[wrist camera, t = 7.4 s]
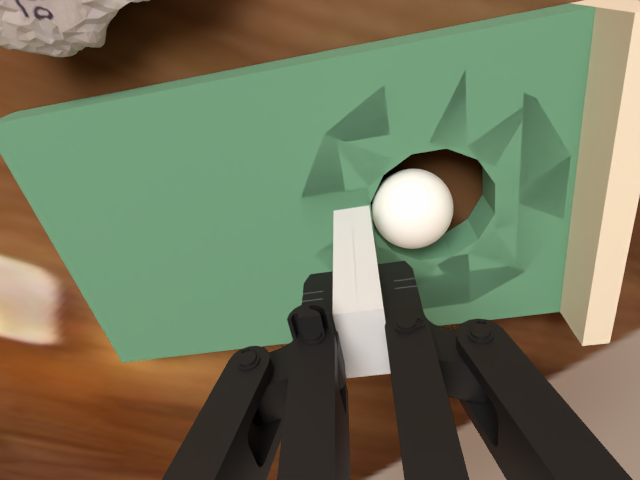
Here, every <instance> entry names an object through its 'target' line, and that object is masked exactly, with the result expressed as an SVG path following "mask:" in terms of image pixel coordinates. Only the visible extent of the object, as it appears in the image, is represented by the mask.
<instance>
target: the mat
mask: <svg viewBox="0 0 640 480" xmlns="http://www.w3.org/2000/svg"><path fill="white" fill-rule="evenodd" d="M441 149H449V150H452V151H455V152H458V153H460V154H463V155H466V156H469V157H471V158H474V159H477V160H478V161H479V163H480V164H481V165H482V196H481V198H480V199H479V201H478V203H477V204H476V206H475V208H474V209H473V211H472V212H471V214H470V216H469V217H468V219H467V220H465V221H464V222H462V223H461V224H459V225H457V226H456V227H454V228H453V229H451V230H450V231H448V232H446V233H445V234H443V235H442V236H441V237H440V238H439V239H438V240H437V241H436V242H434V243H432V244H430V245H428V246H426V247H422V248H416V249H409V248H402V247H399V246H396V245H394V244H392V243H390V242H389V241H387V240H386V239H385V238H384V237H383V236H382V235H381V234H380V232H379V231H378V229H377V228H376V226H375V223H374V220H373V216H372V211H371V204H370V203H371V201H372V199H373V197H374V195H375V192H376V190H377V188H378V186H379V184H380V182H381V179H382V177H383V175H384V174H386V173H387V172H388V171H390V170H391V169H392V168H394V167H395V166H396V165H398V164H399V163H401V162H402V161H403V160H405V159H406V158H407V157H409V156H410V155H411V154H417V153H423V152H429V151H435V150H441ZM0 154H1V155H2V157H3V159H4V161H5V162H6V164H7V166H8V168H9V169H10V171H11V173H12V174H13V176H14V178H15V180H16V181H17V183H18V185H19V186H20V188H21V190H22V192H23V193H24V195H25V197H26V198H27V200H28V202H29V204H30V205H31V207H32V209H33V210H34V212H35V214H36V216H37V217H38V219H39V221H40V222H41V224H42V226H43V228H44V229H45V231H46V233H47V235H48V236H49V238H50V240H51V241H52V243H53V245H54V247H55V248H56V250H57V252H58V253H59V255H60V257H61V259H62V260H63V262H64V264H65V265H66V267H67V269H68V271H69V272H70V274H71V276H72V277H73V279H74V281H75V283H76V284H77V286H78V288H79V289H80V291H81V293H82V295H83V296H84V298H85V300H86V302H87V303H88V305H89V307H90V308H91V310H92V312H93V314H94V315H95V317H96V319H97V320H98V322H99V324H100V326H101V327H102V329H103V331H104V332H105V334H106V336H107V338H108V339H109V341H110V343H111V344H112V346H113V348H114V350H115V351H116V353H117V355H118V356H119V358H120V360H121V362H122V363H123V362H131V361H140V360H149V359H157V358H166V357H175V356H183V355H192V354H200V353H209V352H218V351H226V350H235V349H243V348H246V347H249V346H260V347H261V346H269V345H278V344H287V343H291V342H292V341H293V338H292V335H291V331H290V328H289V325H288V321H287V318H288V316H289V314H290V313H291V312H292V311H293V310H294V309H295V308H296V307H298V306H300V305H302V296H303V286H304V282H305V281H306V279H307V278H308V277H309V275H310V274H316V273H324V272H331V271H333V218H334V211H335V210H342V209H348V208H355V207H361V206H368V205H369V208H370V215H371V222H372V229H373V235H374V242H375V249H376V256H377V263H378V264H383V263H391V262H398V261H406V262H407V263H408V264H409V265H410V266H411V267H412V268H413V272H414V276H415V280H416V284H417V288H418V292H419V295H420V299H421V303H422V307H423V311H424V314H425V316H426V318H427V319H428V320H429V321H430V322H431V323H433V324H435V325H437V326H442V325H450V324H459V323H463V322H466V321H468V320H471V319H486V320H493V319H502V318H511V317H519V316H528V315H536V314H545V313H554V312H560V313H561V314H562V316H563V317H564V319H565V320H566V322H567V323H568V325H569V326H570V328H571V330H572V331H573V333H574V334H575V336H576V337H577V339H578V340H579V342H580V343H581V345H582V346H586V345H595V344H605V343H610V339H611V334H612V329H613V324H614V319H615V314H616V309H617V304H618V299H619V294H620V289H621V284H622V279H623V275H624V270H625V265H626V260H627V255H628V250H629V245H630V240H631V235H632V230H633V225H634V220H635V215H636V210H637V205H638V200H639V195H640V1H639V0H584V1H579V2H574V3H569V4H564V5H558V6H553V7H548V8H543V9H538V10H533V11H528V12H523V13H518V14H513V15H507V16H502V17H497V18H492V19H487V20H482V21H477V22H472V23H467V24H462V25H456V26H451V27H446V28H441V29H436V30H431V31H426V32H421V33H416V34H411V35H405V36H400V37H395V38H390V39H385V40H380V41H375V42H370V43H365V44H360V45H354V46H349V47H344V48H339V49H334V50H329V51H324V52H319V53H314V54H309V55H303V56H298V57H293V58H288V59H283V60H278V61H273V62H268V63H263V64H258V65H252V66H247V67H242V68H237V69H232V70H227V71H222V72H217V73H212V74H207V75H201V76H196V77H191V78H186V79H181V80H176V81H171V82H166V83H161V84H156V85H150V86H145V87H140V88H135V89H130V90H125V91H120V92H115V93H110V94H105V95H99V96H94V97H89V98H84V99H79V100H74V101H69V102H64V103H59V104H54V105H48V106H43V107H38V108H33V109H28V110H23V111H18V112H13V113H11V114H9V115H7V116H4V117H2V118H0Z"/></svg>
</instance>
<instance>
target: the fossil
mask: <svg viewBox="0 0 640 480" xmlns="http://www.w3.org/2000/svg"><path fill="white" fill-rule="evenodd" d="M142 1H150V0H0V46H2V47H3V48H6V49H8V50H11V49H17V50H21V51H26V52H31V53H39V54H45V55H49V56H54V57H68V56H73V55H75V54H77V52H78V51H79V50H83V49H84V48H85V47H102V46H103V45H104V44H105V39H106V30H107V27H108V25H109V23H110V21H111V20H112V19H113V18H114V17H115V16H116V14H117V12H118V10H119V9H120V8H122V7H123V6H125V5H126V4H128V3H130V2H137V3H139V2H142Z"/></svg>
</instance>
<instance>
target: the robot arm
mask: <svg viewBox="0 0 640 480" xmlns="http://www.w3.org/2000/svg"><path fill="white" fill-rule="evenodd" d="M287 321H288V325H289V328H290V331H291V335H292V338H293V341H292V342H291V343H289V344H288V345H286V346H284V347H282V348H280V349H278V350H275V351H272V352H270V353H269V352H268V351H267V350H266V349H265V348H264V347H260V346H249V347H246V348H243V349H241V350H239V351H238V352H236V353H235V354H234V355H233V356H232V357H231V359H230V360H229V361H228V363H227V365H226V367H225V368H224V370H223V372H222V374H221V376H220V377H219V379H218V381H217V383H216V384H215V386H214V388H213V390H212V392H211V393H210V395H209V397H208V399H207V400H206V402H205V404H204V406H203V408H202V409H201V411H200V413H199V415H198V416H197V418H196V420H195V422H194V424H193V425H192V427H191V429H190V431H189V432H188V434H187V436H186V438H185V440H184V441H183V443H182V445H181V447H180V448H179V450H178V452H177V454H176V456H175V457H174V459H173V461H172V463H171V464H170V466H169V468H168V470H167V472H166V473H165V475H164V477H163V479H162V480H266V479H267V476H268V473H269V471H270V468H271V465H272V463H273V460H274V457H275V455H276V452H277V449H278V446H279V444H280V441H281V449H280V458H279V466H278V475H277V480H351V477H350V445H349V413H348V390H347V386H346V382H345V373H346V377H347V378H353V377H363V376H372V375H382V374H391V380H392V387H393V395H394V403H395V410H396V418H397V425H398V433H399V441H400V448H401V456H402V464H403V471H404V478H405V480H469V477H468V473H467V469H466V465H465V461H464V458H463V454H462V450H461V446H460V442H459V438H458V434H457V430H456V426H455V423H454V419H453V415H452V411H451V407H450V403H449V399H448V397H452V398H457V399H460V402H461V404H462V406H463V408H464V409H465V411H466V413H467V414H468V416H469V418H470V419H471V421H472V423H473V424H474V426H475V428H476V429H477V431H478V433H479V434H480V436H481V437H482V439H483V440H484V442H485V444H486V446H487V448H488V449H489V451H490V453H491V454H492V456H493V458H494V459H495V460H496V463H497V464H498V466H499V468H500V469H501V471H502V473H503V474H504V476H505V478H506V479H507V480H632V478H631V477H630V476H629V475H628V474H627V473H626V471H625V470H624V469H623V468H622V467H621V466H620V465H619V463H618V462H617V461H616V460H615V459H614V458H613V456H612V455H611V454H610V453H609V452H608V451H607V449H605V447H604V446H603V445H602V444H601V443H600V441H599V440H598V439H597V438H596V437H595V435H594V434H593V433H592V432H591V431H590V430H589V429H588V427H587V426H586V425H585V424H584V423H583V422H582V420H581V419H580V418H579V417H578V416H577V414H576V413H575V412H574V411H573V410H572V409H571V408H570V406H569V405H568V404H567V403H566V402H565V401H564V399H563V398H562V397H561V396H560V395H559V394H558V393H557V391H556V390H555V389H554V388H553V387H552V385H551V384H550V383H549V382H548V381H547V380H546V378H545V377H544V376H543V375H542V374H541V373H540V371H539V370H538V369H537V368H536V367H535V366H534V364H533V363H532V362H531V361H530V360H529V359H528V357H527V356H526V355H525V354H524V353H523V352H522V351H521V349H520V348H519V347H518V346H517V345H516V344H515V342H514V341H513V340H512V339H511V338H510V337H509V335H508V334H507V333H506V332H505V331H504V330H503V328H501V327H500V326H499V325H498V324H496V323H495V322H492V321H489V320H486V319H471V320H468V321H466V322H463V323H462V324H461V325H460V326H459V327H458V328H457V329H449V328H443V327H440V326H437V325H435V324H433V323H431V322H430V321H429V320H428V319H427V318H426V316H425V314H424V311H423V307H422V303H421V299H420V295H419V292H418V288H417V284H416V280H415V276H414V272H413V268H412V267H411V266H410V265H409V264H408V263H407V262H406V261H398V262H391V263H383V264H378V263H377V256H376V249H375V242H374V235H373V229H372V222H371V215H370V208H369V205H368V206H361V207H355V208H348V209H342V210H335V211H334V218H333V271H331V272H324V273H316V274H310V275H309V277H308V278H307V279H306V281H305V282H304V286H303V296H302V305H300V306H298V307H296V308H295V309H294V310H293V311H292V312H291V313H290V314H289V316H288V318H287ZM281 438H282V440H281Z"/></svg>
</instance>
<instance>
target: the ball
mask: <svg viewBox="0 0 640 480" xmlns="http://www.w3.org/2000/svg"><path fill="white" fill-rule="evenodd" d="M372 216H373V220H374V223H375V226H376V228H377V229H378V231H379V232H380V234H381V235H382V236H383V237H384V238H385V239H386V240H387V241H389V242H390V243H392V244H394V245H396V246H399V247H402V248H409V249H416V248H422V247H426V246H428V245H430V244H432V243H434V242H436V241H437V240H438V239H439V238H440V237H441V236H442V235H443V234H444V233H445V232H446V231H447V229H448V227H449V225H450V223H451V220H452V216H453V200H452V196H451V193H450V191H449V189H448V187H447V186H446V185H445V183H444V182H443V181H442V180H441V179H440V178H439V177H437V176H436V175H435V174H433V173H431V172H428V171H426V170H422V169H405V170H401V171H398V172H396V173H394V174H392V175H390V176H389V177H387V178H386V179H385V180H384V181H383V182H382V183H381V184H380V186H379V187H378V189H377V191H376V193H375V195H374V198H373V202H372Z"/></svg>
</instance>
